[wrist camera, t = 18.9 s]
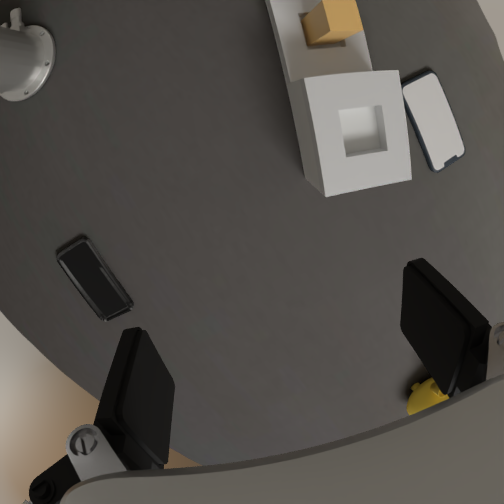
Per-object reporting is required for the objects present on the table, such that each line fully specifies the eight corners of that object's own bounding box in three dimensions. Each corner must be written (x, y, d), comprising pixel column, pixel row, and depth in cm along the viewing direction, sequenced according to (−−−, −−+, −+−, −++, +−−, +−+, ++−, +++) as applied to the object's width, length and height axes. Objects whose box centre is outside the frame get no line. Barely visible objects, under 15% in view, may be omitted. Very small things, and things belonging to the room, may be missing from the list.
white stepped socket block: (263, -4, 33) (274, -31, 24) (343, -9, 33) (371, -31, 24) (305, 178, 45) (325, 197, 36) (378, 164, 45) (411, 179, 36)
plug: (300, 20, 34) (322, 0, 25) (328, 19, 34) (355, -1, 25) (307, 46, 36) (330, 31, 27) (334, 44, 36) (363, 30, 27)
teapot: (398, 375, 68) (421, 417, 55) (450, 347, 66) (477, 383, 54) (402, 412, 76) (420, 447, 64) (447, 387, 75) (467, 420, 62)
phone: (103, 322, 52) (54, 256, 46) (104, 319, 53) (56, 253, 47) (136, 308, 52) (85, 236, 45) (137, 304, 53) (88, 233, 46)
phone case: (391, 87, 41) (429, 173, 47) (396, 87, 39) (434, 175, 45) (429, 68, 39) (462, 151, 45) (435, 68, 38) (468, 153, 44)
